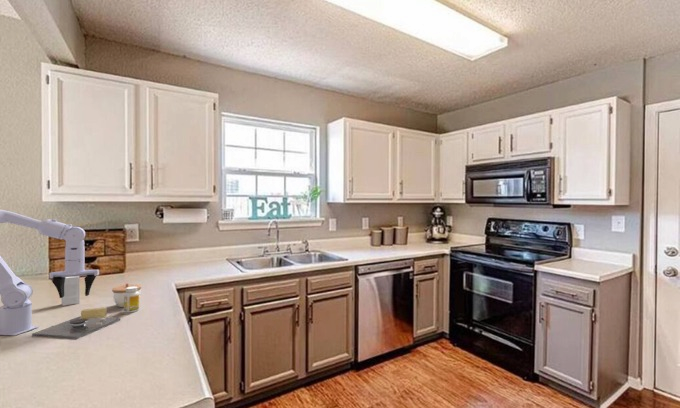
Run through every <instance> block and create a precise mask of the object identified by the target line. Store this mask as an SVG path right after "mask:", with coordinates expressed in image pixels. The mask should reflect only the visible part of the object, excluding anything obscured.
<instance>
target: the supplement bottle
mask: <svg viewBox="0 0 680 408" xmlns="http://www.w3.org/2000/svg"><path fill="white" fill-rule="evenodd" d="M126 292H127V293H125V294H124V307H123V312H124V313H126V314H127V313H134V312H138V311H139V310H140V298H139V292H137V287H128V288H126Z"/></svg>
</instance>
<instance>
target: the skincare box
mask: <svg viewBox="0 0 680 408" xmlns="http://www.w3.org/2000/svg"><path fill="white" fill-rule="evenodd" d="M80 283H81V282H80V276H76V277H65V283H64V297H62V298H61V306H63V307H64V306H70V305H71V306H72V305H76V304H77V305H78V304H80V303H81V302H80V291H81V290H80Z"/></svg>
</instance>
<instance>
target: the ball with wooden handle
mask: <svg viewBox="0 0 680 408" xmlns="http://www.w3.org/2000/svg"><path fill="white" fill-rule="evenodd" d="M107 308H108V307H106V306H105V307H96V308H87V309H82V310H81V311H80V313H81V314H80V316H81V317H80V316H77V317H78V318H77V317H74V318H72V319H69V320H70V324H79V323H84V322H86V321H88V319H92V318H101V317H107V314H108V313H107Z"/></svg>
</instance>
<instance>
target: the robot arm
mask: <svg viewBox="0 0 680 408" xmlns="http://www.w3.org/2000/svg"><path fill="white" fill-rule="evenodd" d="M6 223H8V224H14V225H18V226H22V227H26V228H31V229H35V230H37V232H38V233H39V234H40V235H43V236H45V237H50V238H54V239H58V240H64V241H65V247H64V249H65V250H64V271H63V270H62V271H52V272H49V273H48V274H49V279H51V283H53V285H54V286H55V288H56V291H57V293H58V295H59V299H62V297H64V283H65V277H76V276H79V277H84V286H85V289H84V291H85V292H84V295H85V297H88V296H89V295H90V291H91V288H92V285H93V283H94V281H95V279H96V278H97V276H99V275H100V270H99V269H85V267H86V265H85V262H86V261H85V255H86V254H85V253H86V252H85V251H86V250H85V249H86V247H85V237H86V231H85V229H83V228H82V227H80V226H73V224H72V223H69V224H66V223H64V222H60V221H58V219H56V218H52V219H49V218H47V219H45V220H39V219H36V218H32V217H30V216H27V215H23V214H19V213H17V212H14V211H11V210H10V211H9V210H5V209H0V224H6ZM33 293H34V290H33V288H32V286H31V285H30V284H28V283H25V282H24V281H23V279H21V278H20V277H19V276H17V275H15V273H14V272H13V271H12V269H11V268H10V266H9V265H8V263H7V262H6V261H5V260H4V259H3V257H2V256H1V255H0V300H1V303H2V304H3V305H2V306H0V335H2V336H19V335H21V334H24V333H26V332H29V331H32V330H35V329H37V328H39V325H32V316H33V315H32V313H33V310H32V309H33V307H32V303H33V302H32V301H31V300H30V298H31V297H32V295H33Z"/></svg>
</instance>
